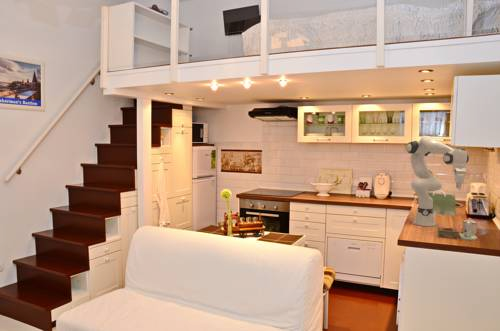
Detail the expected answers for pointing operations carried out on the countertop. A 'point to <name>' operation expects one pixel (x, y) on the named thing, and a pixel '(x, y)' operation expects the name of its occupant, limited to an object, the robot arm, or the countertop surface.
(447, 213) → the grocery bag
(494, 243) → the countertop surface
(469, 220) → the teacup with lid
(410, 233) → the countertop surface
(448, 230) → the pocket block
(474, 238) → the tray
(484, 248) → the countertop surface
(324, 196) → the countertop surface
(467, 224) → the peg
